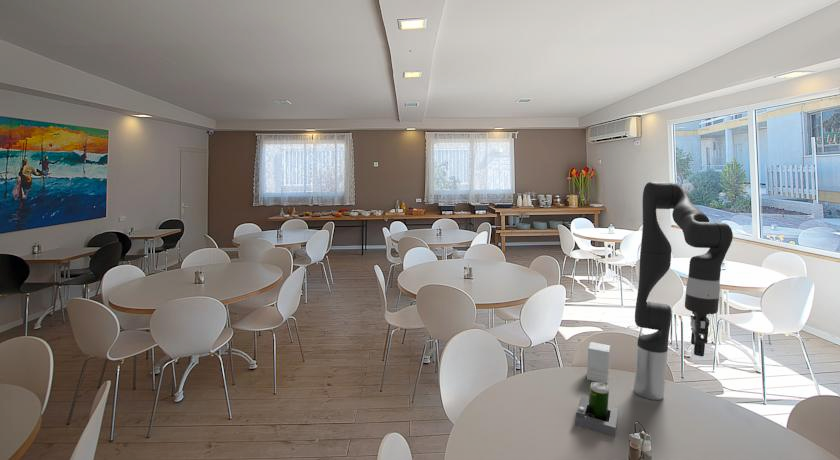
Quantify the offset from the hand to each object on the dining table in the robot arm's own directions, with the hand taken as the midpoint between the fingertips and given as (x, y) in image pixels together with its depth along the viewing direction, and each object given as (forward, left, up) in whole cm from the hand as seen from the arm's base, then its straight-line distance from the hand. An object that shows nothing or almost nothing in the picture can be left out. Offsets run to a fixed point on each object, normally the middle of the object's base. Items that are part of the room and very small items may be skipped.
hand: (696, 349), depth 110 cm
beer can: (+3, -24, -28) cm, 37 cm away
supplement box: (-28, -27, -28) cm, 48 cm away
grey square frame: (+3, -24, -28) cm, 37 cm away
